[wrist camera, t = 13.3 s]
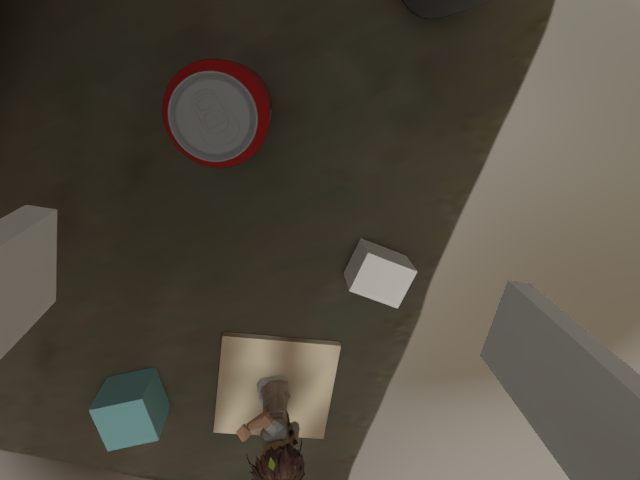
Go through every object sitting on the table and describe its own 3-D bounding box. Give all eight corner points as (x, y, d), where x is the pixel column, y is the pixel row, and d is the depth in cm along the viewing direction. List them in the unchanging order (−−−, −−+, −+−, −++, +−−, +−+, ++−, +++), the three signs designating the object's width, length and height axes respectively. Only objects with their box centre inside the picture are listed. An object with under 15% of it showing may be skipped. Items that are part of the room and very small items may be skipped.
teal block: (124, 414, 49) (107, 451, 44) (107, 376, 47) (88, 410, 42) (170, 404, 49) (159, 440, 44) (155, 366, 47) (142, 399, 42)
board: (214, 427, 50) (213, 432, 49) (223, 331, 46) (222, 335, 45) (322, 433, 52) (323, 438, 51) (340, 341, 48) (341, 345, 47)
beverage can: (216, 158, 40) (192, 191, 29) (175, 85, 38) (132, 90, 27) (285, 124, 40) (288, 144, 28) (248, 47, 37) (235, 36, 26)
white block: (343, 273, 45) (349, 291, 41) (360, 237, 44) (368, 252, 40) (387, 289, 46) (397, 308, 42) (405, 255, 45) (417, 271, 41)
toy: (239, 369, 47) (230, 491, 33) (292, 360, 47) (306, 476, 33) (249, 418, 49) (245, 553, 35) (300, 409, 49) (316, 538, 35)
